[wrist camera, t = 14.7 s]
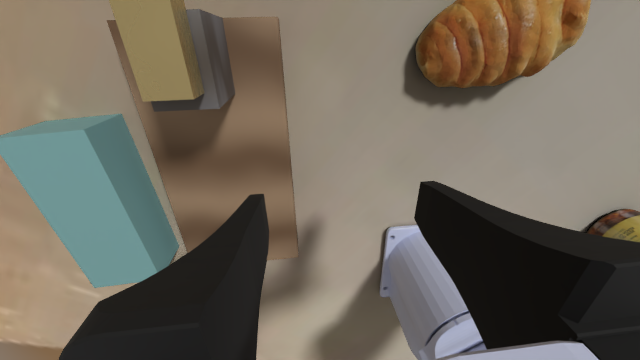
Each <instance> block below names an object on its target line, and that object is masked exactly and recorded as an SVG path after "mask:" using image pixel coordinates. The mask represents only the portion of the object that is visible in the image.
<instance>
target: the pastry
mask: <svg viewBox="0 0 640 360" xmlns="http://www.w3.org/2000/svg"><path fill="white" fill-rule="evenodd" d="M590 2H591V0H456V1H455V2H454V3H453V4H452V5H450V6H448V7H447V8H446V9H444V10H443V11H442V12H441V13H439V14H438V15H437V16H436V17H435V18H434V19H433V20H432V21H431V22H430V23H429V25H428V26H427V27H426V28H425V30H424V31H423V32H422V33H421V35H420V37H419V39H418V41H417V44H416V60H417V64H418V66H419V68H420V69H421V71H422V73H423V75H424V77H425V78H427V79H428V80H429V81H431V82H432V83H433V84H434V85H436V86H437V87H450V86H455V87H459V88H468V87H472V86H485V85H486V86H496V85H500V84H502V83H505V82H507V81H509V80H510V79H513V78H515V77H517V76H520V75H521V76H525V77H529V76H532V75H534V74H536V73H538V72H539V71H541V70H542V69H543V68H544V67H545V66H547V65H548V64H549V63H550V61H552V60H554V59H555V58H557V57H558V56H559V55H560V54H562V53H563V52H564V51H565V50H566V49H568V48H570V47H571V46H573V45H574V44H576V42H577V40H578V39H579V38H580V37H581V35H582V33H583V31H584V28H585V25H586V23H587V18H588V14H589V9H590Z"/></svg>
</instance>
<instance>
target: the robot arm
mask: <svg viewBox="0 0 640 360" xmlns="http://www.w3.org/2000/svg"><path fill="white" fill-rule="evenodd" d="M414 218H415V221H416V223H417V225H410V226H398V227H390V228H388V230H387V232H386V240H385V249H384V257H383V266H382V274H381V283H380V291H379V293H380V296H381V297H390V299H391V302H392V304H393V307H394V309H395V312H396V314H397V317H398V319H399V322H400V325H401V327H402V330H403V332H404V335H405V337H406V340H407V342H408V345H409V347H410V349H411V351H412V352H413V354H414V355H415V357H416V358H417V359H418V360H640V242H635V241H628V240H622V239H615V238H609V237H604V236H599V235H594V234H589V233H584V232H579V231H575V230H570V229H566V228H562V227H558V226H554V225H550V224H547V223H543V222H539V221H536V220H532V219H529V218H526V217H523V216H520V215H517V214H514V213H511V212H508V211H505V210H503V209H500V208H498V207H495V206H492V205H490V204H487V203H485V202H483V201H480V200H478V199H476V198H473V197H471V196H469V195H466V194H464V193H462V192H460V191H457V190H455V189H453V188H451V187H448V186H446V185H443V184H441V183H438V182H435V181H427V182H421V183H420V189H419V194H418V200H417V206H416V211H415V217H414ZM392 235H393V236H392ZM390 236H392V237H390ZM268 249H269V225H268V218H267V212H266V205H265V198H264V194H252V195H249V196H248V197H247V198H246V199H245V201H244V202H243V203H242V204H241V205H240V206H239V207H238V209H237V210H236V211H235V212H234V213H233V214H232V215H231V216H230V217H229V218H228V219H227V221H226V222H224V223H223V224H222V225H221V226H220V227H219V228H218V229H217V230H216V231H215V232H214V233H213V234H212V235H211V236H209V237H208V238H207V239H206V240H205V241H203V242H202V243H201V244H200V245H198V246H197V247H196V248H194V249H193V250H192V251H190V252H189V253H187V254H186V255H184V256H183V257H181V258H180V259H178V260H177V261H175V262H174V263H172V264H171V265H169V266H168V267H166V268H164V269H162V270H161V271H159V272H157V273H156V274H154V275H152V276H150V277H148V278H147V279H145V280H143V281H141V282H139V283H137V284H135V285H133V286H131V287H129V288H127V289H125V290H123V291H121V292H119V293H117V294H115V295H113V296H110V297H108V298H106V299H104V300H102V301H100V302H98V303H97V305H96V306H95V307H94V309H93V310H92V311H91V313H90V314H89V315H88V317H87V318H86V319H85V321H84V322H83V323H82V325H81V326H80V327H79V329H78V330H77V332H76V333H75V334H74V336H73V337H72V338H71V340H70V341H69V342H68V344H67V345H66V346H65V348H64V349H63V351H62V353H61V355H60V357H59V360H256V350H257V333H258V318H259V304H260V297H261V290H262V285H263V279H264V273H265V268H266V262H267V256H268Z"/></svg>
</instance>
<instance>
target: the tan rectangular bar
mask: <svg viewBox="0 0 640 360" xmlns="http://www.w3.org/2000/svg"><path fill="white" fill-rule="evenodd" d="M109 2H110V5H111V8H112V11H113V14H114V17H115V20H116V23H117V26H118V29H119V32H120V35H121V38H122V41H123V44H124V47H125V50H126V53H127V56H128V59H129V62H130V65H131V68H132V71H133V74H134V77H135V80H136V83H137V86H138V88H139V91H140V94H141V97H142V100H143V102H146V101H168V100H190V99H195V98H197V97H199V96H200V95H202V94H204V89H203V84H202V80H201V75H200V71H199V66H198V62H197V57H196V53H195V48H194V44H193V39H192V35H191V31H190V26H189V22H188V17H187V13H186V8H185V4H184V0H109Z"/></svg>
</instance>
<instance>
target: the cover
mask: <svg viewBox="0 0 640 360" xmlns="http://www.w3.org/2000/svg"><path fill="white" fill-rule="evenodd" d="M0 154H1V156H2V157H3V159H4V160H5V162H6V163H7V164H8V166H9V167H10V169H11V170H12V172H13V173H14V174H15V176H16V177H17V179H18V180H19V181H20V183H21V184H22V186H23V187H24V189H25V190H26V191H27V193H28V194H29V196H30V197H31V198H32V200H33V201H34V203H35V204H36V206H37V207H38V208H39V210H40V211H41V213H42V214H43V215H44V217H45V218H46V220H47V221H48V223H49V224H50V225H51V227H52V228H53V230H54V231H55V232H56V234H57V235H58V237H59V238H60V240H61V241H62V242H63V244H64V245H65V247H66V248H67V250H68V251H69V252H70V254H71V255H72V257H73V258H74V259H75V261H76V262H77V264H78V265H79V267H80V268H81V269H82V271H83V272H84V274H85V275H86V276H87V278H88V279H89V281H90V282H91V284H92V285H93V286H94V288H97V287H105V286H113V285H120V284H128V283H136V282H141V281H143V280H145V279H147V278H148V277H150V276H152V275H154V274H156V273H157V272H159V271H161V270H162V269H164V268H166V267H168V266H169V264H170V262H171V260H172V258H173V257H174V255H175V253H176V251H177V249H178V248H179V245H178V242H177V240H176V238H175V235H174V233H173V231H172V228H171V226H170V224H169V222H168V219H167V217H166V215H165V212H164V210H163V208H162V205H161V203H160V201H159V199H158V196H157V194H156V192H155V189H154V187H153V185H152V182H151V180H150V178H149V176H148V173H147V171H146V169H145V166H144V164H143V162H142V159H141V157H140V155H139V153H138V150H137V148H136V146H135V143H134V141H133V139H132V136H131V134H130V132H129V130H128V127H127V125H126V123H125V120H124V118H123V116H122V114H114V115H104V116H93V117H83V118H73V119H63V120H53V121H44V122H41V123H38V124H35V125H32V126H29V127H26V128H23V129H19V130H16V131H13V132H10V133H7V134H4V135H1V136H0Z"/></svg>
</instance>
